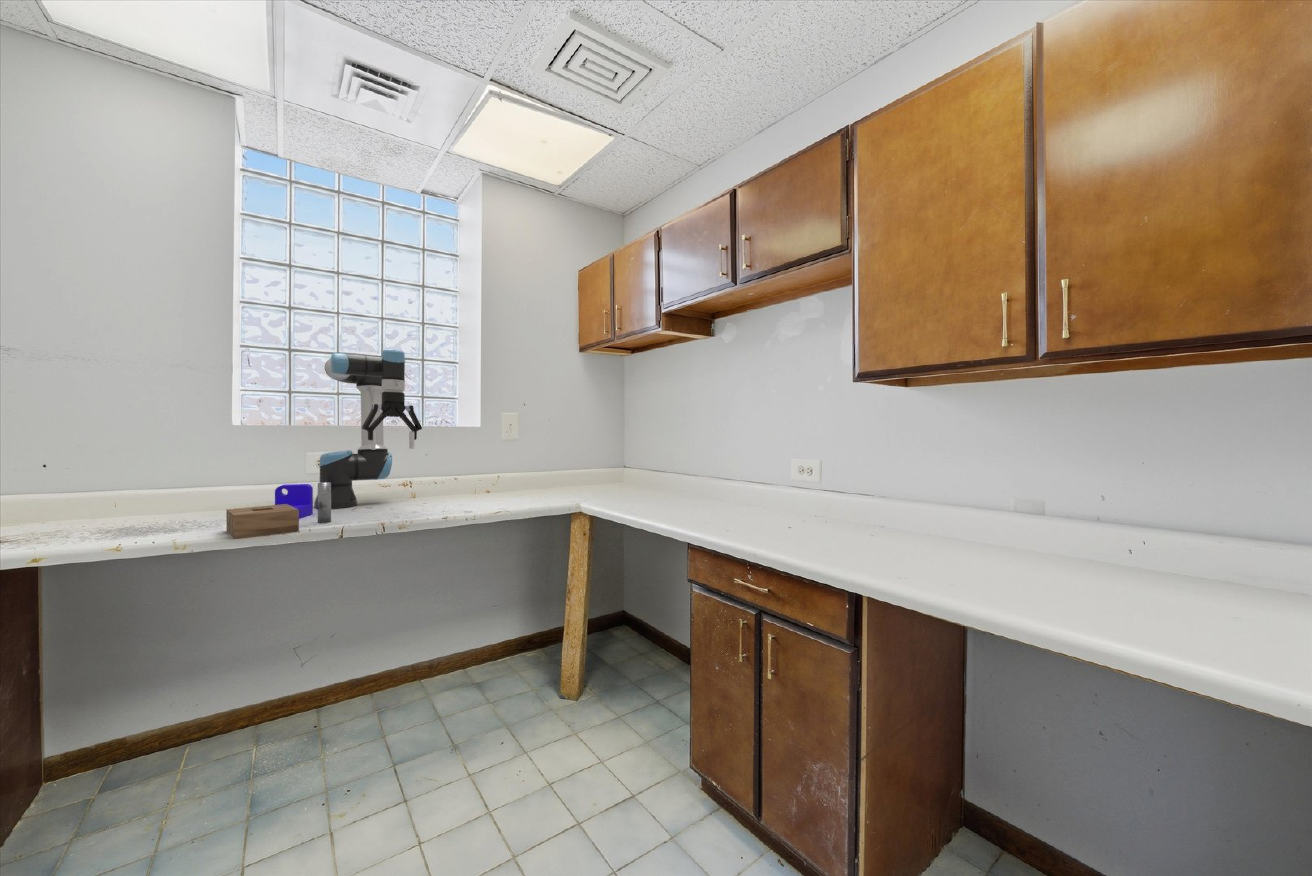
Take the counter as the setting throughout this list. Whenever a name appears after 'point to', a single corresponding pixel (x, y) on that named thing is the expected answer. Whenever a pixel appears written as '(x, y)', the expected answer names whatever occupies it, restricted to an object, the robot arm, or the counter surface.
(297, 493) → the bracket
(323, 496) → the pin
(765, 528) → the counter surface
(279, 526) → the bore block
